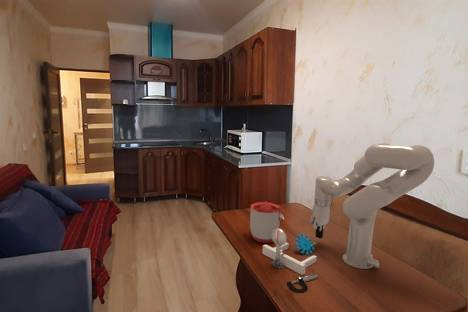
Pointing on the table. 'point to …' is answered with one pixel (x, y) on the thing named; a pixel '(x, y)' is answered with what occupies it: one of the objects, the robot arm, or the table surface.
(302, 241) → the gear
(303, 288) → the micrometer
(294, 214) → the table surface
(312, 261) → the white angled bar
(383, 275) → the table surface
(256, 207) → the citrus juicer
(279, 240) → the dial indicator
